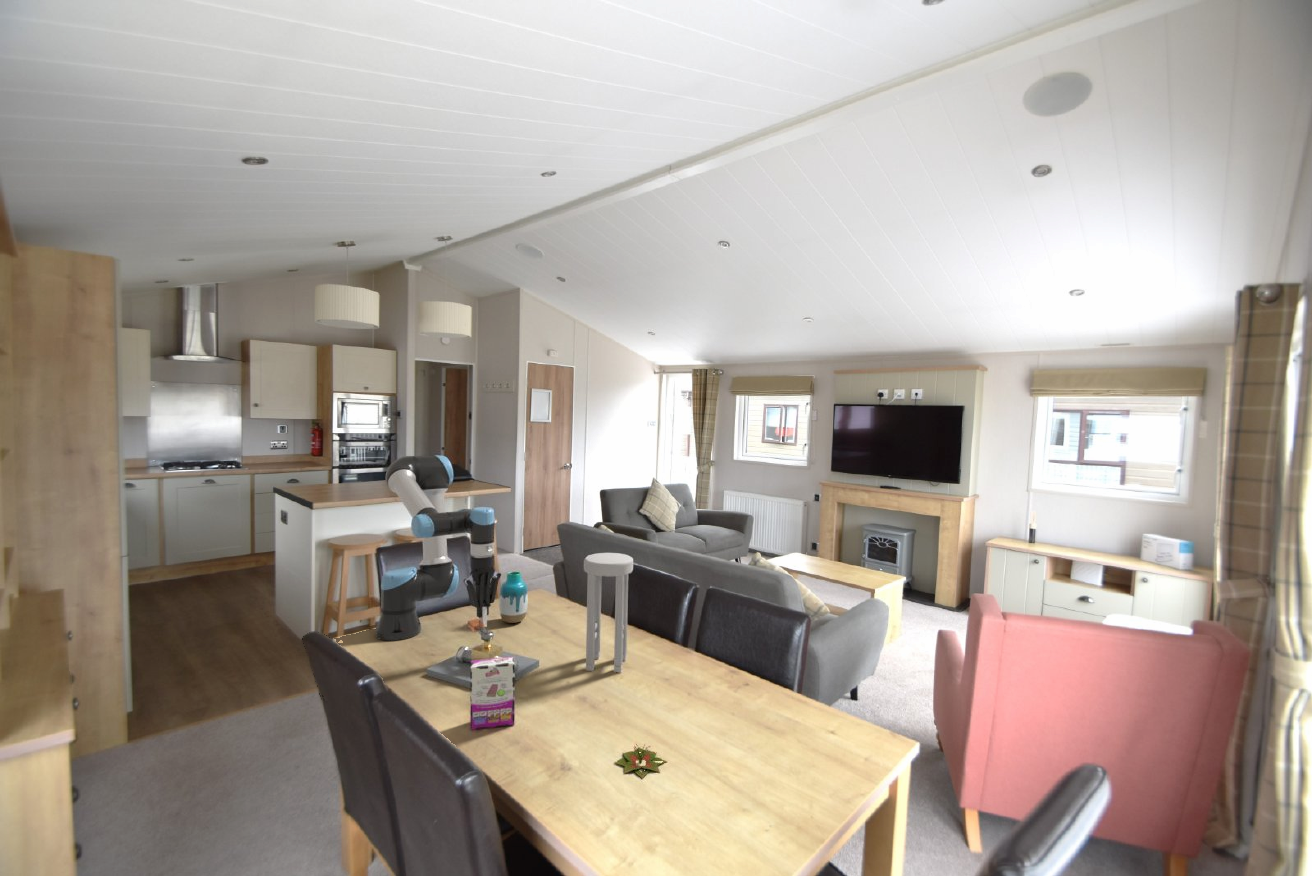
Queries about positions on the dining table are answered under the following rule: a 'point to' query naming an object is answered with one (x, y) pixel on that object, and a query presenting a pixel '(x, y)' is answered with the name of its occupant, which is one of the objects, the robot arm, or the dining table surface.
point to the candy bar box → (492, 693)
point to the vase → (513, 598)
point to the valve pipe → (481, 653)
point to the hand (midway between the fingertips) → (482, 626)
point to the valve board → (461, 671)
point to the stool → (596, 568)
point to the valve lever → (480, 629)
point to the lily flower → (640, 761)
